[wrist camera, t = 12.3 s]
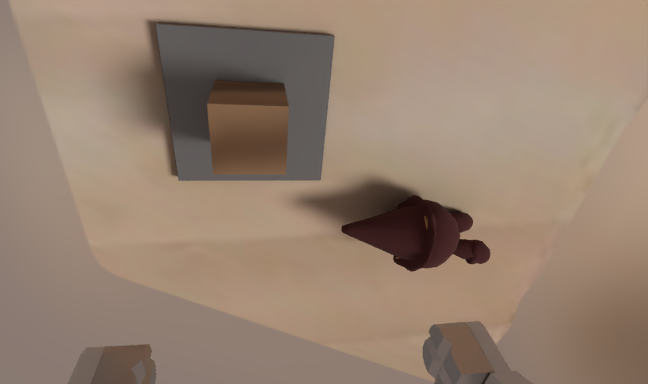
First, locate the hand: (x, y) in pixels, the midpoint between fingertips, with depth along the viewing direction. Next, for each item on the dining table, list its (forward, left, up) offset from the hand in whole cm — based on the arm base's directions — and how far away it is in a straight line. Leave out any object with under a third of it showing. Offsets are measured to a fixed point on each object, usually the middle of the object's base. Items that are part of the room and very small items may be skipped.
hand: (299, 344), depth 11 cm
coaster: (+1, -2, -22) cm, 22 cm away
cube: (+1, -2, -21) cm, 21 cm away
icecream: (+11, +13, -22) cm, 28 cm away
